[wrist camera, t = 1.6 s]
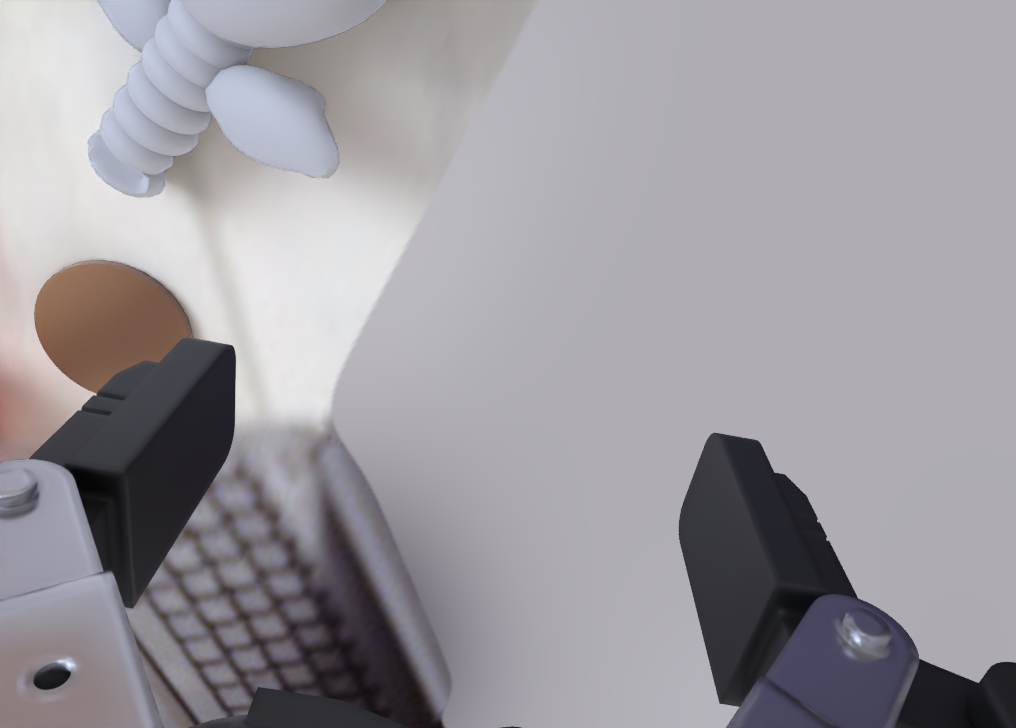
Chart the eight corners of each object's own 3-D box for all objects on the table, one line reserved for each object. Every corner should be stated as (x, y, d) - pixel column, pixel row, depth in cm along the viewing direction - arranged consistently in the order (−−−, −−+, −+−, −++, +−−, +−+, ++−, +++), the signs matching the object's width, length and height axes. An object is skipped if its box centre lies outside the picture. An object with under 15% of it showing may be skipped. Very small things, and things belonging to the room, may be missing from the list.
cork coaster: (13, 338, 35) (8, 341, 35) (81, 228, 33) (76, 231, 32) (148, 421, 37) (145, 426, 37) (221, 324, 35) (218, 328, 34)
